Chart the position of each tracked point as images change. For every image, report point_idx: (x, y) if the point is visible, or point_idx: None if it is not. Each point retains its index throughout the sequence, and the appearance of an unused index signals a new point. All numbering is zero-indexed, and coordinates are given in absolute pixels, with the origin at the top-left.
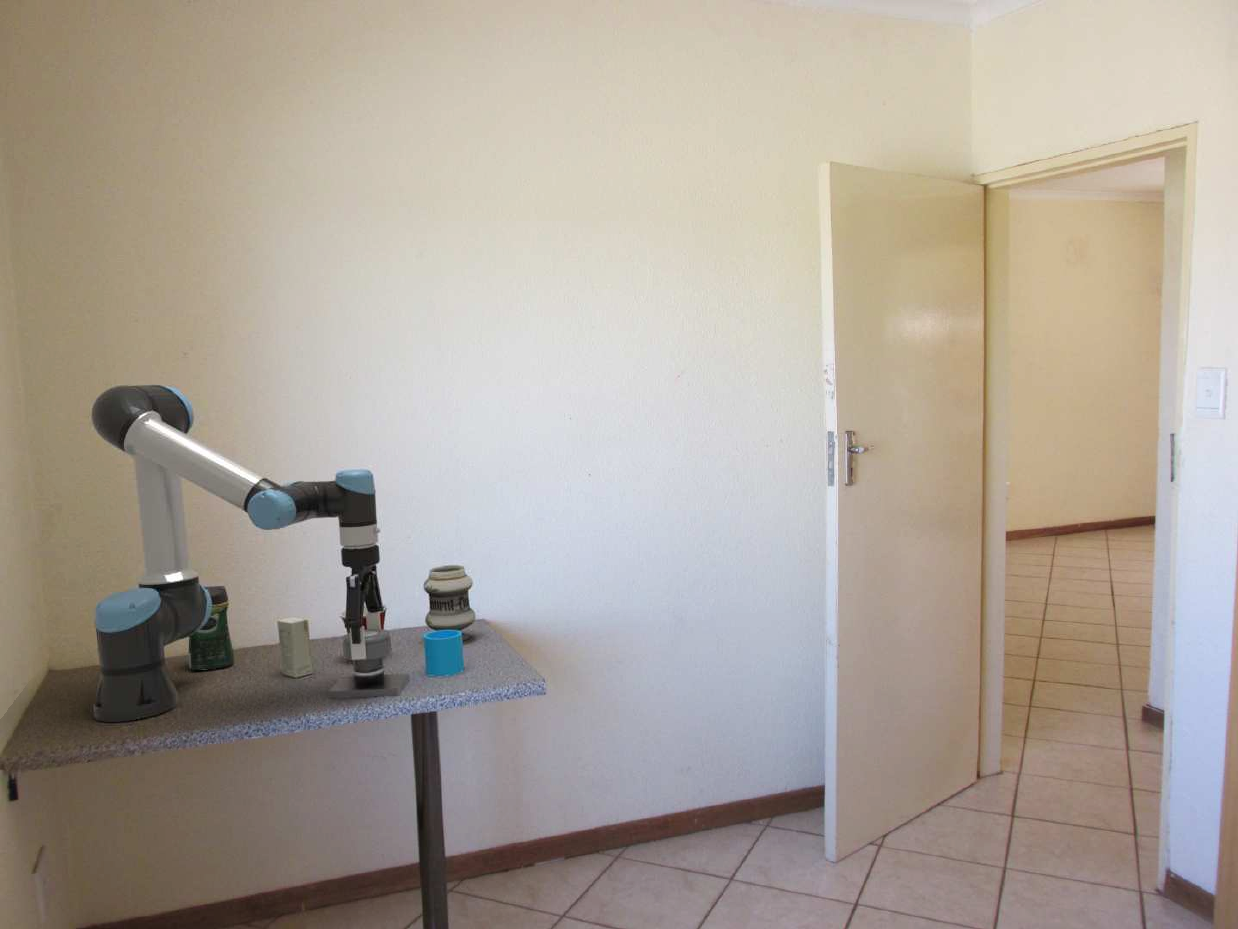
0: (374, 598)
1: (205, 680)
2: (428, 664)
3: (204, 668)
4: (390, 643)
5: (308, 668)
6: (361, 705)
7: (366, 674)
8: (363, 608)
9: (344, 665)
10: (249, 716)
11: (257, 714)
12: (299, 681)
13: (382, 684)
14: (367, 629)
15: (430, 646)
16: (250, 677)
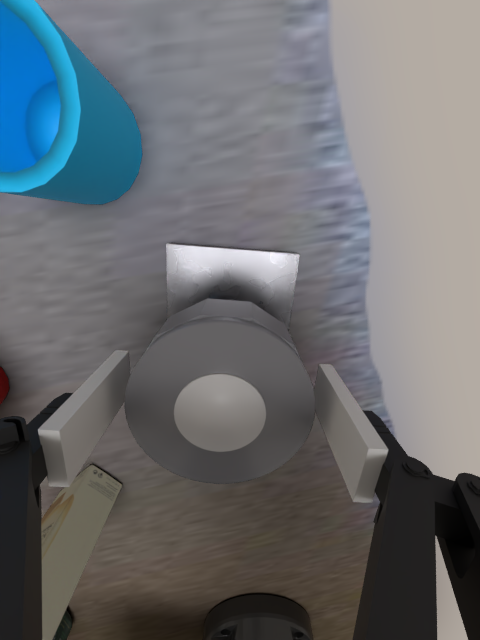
0: (25, 546)
1: (120, 596)
2: (113, 185)
3: (68, 616)
4: (211, 307)
5: (93, 479)
6: (342, 325)
7: None
8: (388, 554)
9: (27, 418)
10: (339, 497)
11: (332, 489)
12: (142, 473)
13: (254, 300)
14: (108, 425)
15: (89, 158)
16: (108, 548)
